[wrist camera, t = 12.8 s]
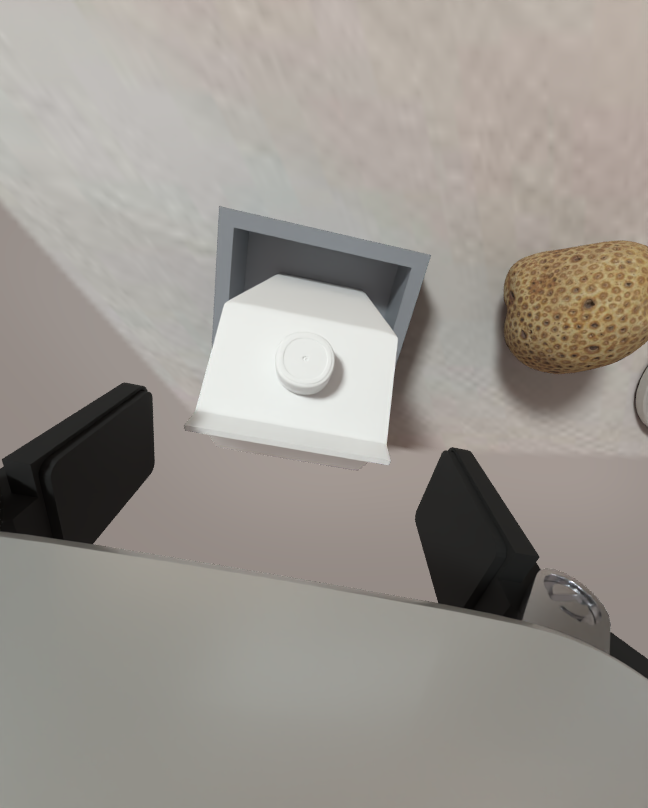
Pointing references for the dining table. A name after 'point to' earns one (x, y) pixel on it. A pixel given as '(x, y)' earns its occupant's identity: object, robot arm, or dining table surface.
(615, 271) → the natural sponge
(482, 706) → the robot arm
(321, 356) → the milk carton
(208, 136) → the dining table surface
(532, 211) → the dining table surface
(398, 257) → the box
